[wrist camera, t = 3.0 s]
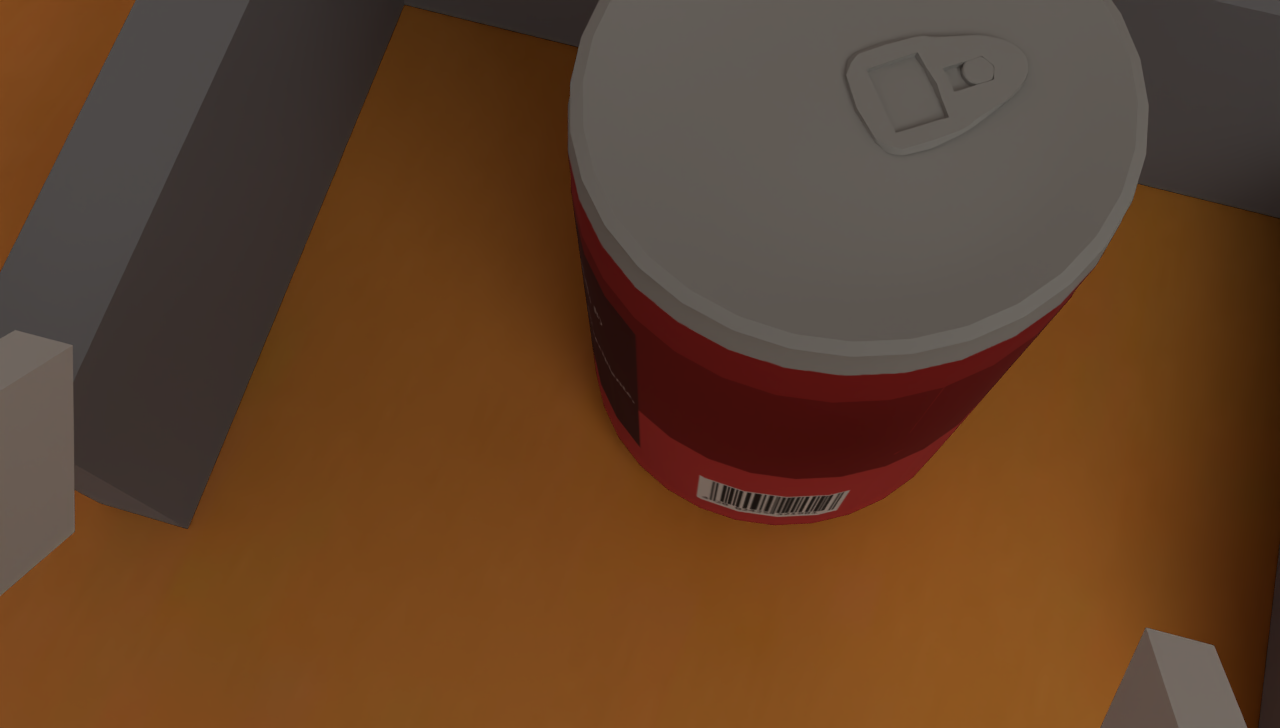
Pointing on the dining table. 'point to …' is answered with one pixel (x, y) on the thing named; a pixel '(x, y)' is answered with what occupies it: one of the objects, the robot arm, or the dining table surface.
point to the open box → (307, 160)
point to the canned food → (835, 225)
